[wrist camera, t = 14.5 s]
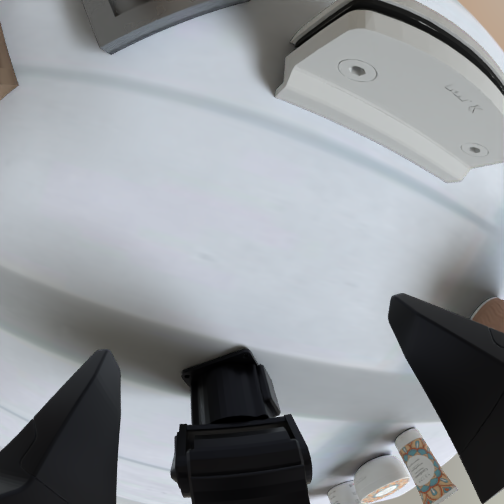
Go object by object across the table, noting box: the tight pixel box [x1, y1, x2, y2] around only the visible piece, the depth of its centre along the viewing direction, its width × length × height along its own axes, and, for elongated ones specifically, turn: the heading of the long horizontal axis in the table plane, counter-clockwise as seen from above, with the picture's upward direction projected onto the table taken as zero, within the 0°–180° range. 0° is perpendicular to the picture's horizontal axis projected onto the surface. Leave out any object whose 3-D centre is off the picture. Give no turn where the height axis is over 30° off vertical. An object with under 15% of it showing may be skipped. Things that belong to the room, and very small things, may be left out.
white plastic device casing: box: [275, 0, 504, 183], centre depth 16 cm, size 17×5×10 cm, turn 70°
